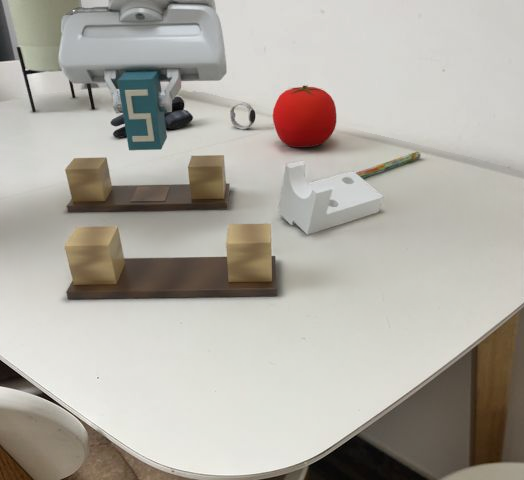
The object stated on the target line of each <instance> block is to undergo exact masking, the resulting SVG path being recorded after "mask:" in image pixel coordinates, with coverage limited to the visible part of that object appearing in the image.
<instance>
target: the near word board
mask: <svg viewBox="0 0 524 480" xmlns="http://www.w3.org/2000/svg"><path fill="white" fill-rule="evenodd" d="M225 246H226V256H186V257H185V256H183V257H182V256H180V257H179V256H178V257H127V258H125V256H124V251H123V245H122V239H121V235H120V229H119V226H118V225H107V226H106V225H105V226H104V225H103V226H102V225H101V226H76V227H75V228H74V229H73V231H72V233H71V234H70V236H69V237H68V239H67V240H66V242H65V243H64V245H63V247H64V251H65V255H66V260H67V263H68V268H69V271H70V275H71V279H72V280H71V282H70V284H69V286H68V288H67V289H66V291H65V292H66V293H65V294H66V296H67V299H68V300H97V299H99V300H100V299H107V300H108V299H156V298H157V299H162V298H164V299H165V298H166V299H167V298H210V297H211V298H217V297H218V298H220V297H221V298H223V297H225V298H227V297H228V298H229V297H277V261H276V260H277V259H276V255H272V252H273V251H272V223H230V224H229V223H228V226H227V232H226V242H225Z"/></svg>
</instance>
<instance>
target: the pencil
mask: <svg viewBox="0 0 524 480" xmlns="http://www.w3.org/2000/svg"><path fill="white" fill-rule="evenodd" d="M421 156H422V155H421V152H420V151H415V152H410V153H409V154H406V155H403V156H401V157H398V158H394V159H392V160H388V161H386V162H383V163H380V164H377V165H374V166H371V167H369V168H365V169H362V170H360V171H357V172H355V173H356V174H357V175H359V176H360V177H361V178H362V179H364V178H367V177H369V176H372V175H375V174H377V173H381V172H383V171H387V170H389V169H391V168H394V167H398V166H401V165H404V164H407V163H409V162H413V161H415V160H419V159H420V158H421Z"/></svg>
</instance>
